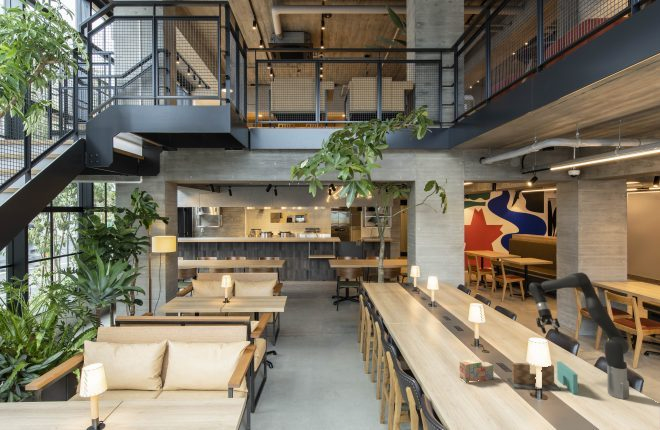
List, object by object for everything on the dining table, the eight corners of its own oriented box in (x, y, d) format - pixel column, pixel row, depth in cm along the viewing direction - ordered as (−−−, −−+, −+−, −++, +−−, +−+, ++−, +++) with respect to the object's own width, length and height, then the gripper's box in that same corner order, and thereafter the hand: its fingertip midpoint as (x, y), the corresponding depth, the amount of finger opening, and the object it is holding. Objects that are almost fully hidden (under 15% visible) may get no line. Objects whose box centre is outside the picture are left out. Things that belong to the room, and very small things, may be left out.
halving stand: (551, 382, 235) (551, 361, 235) (560, 390, 223) (560, 369, 223) (507, 380, 239) (507, 359, 239) (514, 388, 227) (513, 367, 227)
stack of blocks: (487, 375, 246) (486, 357, 246) (493, 379, 240) (493, 360, 240) (459, 379, 241) (459, 360, 241) (465, 383, 235) (465, 364, 235)
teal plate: (557, 379, 238) (557, 361, 238) (561, 379, 238) (560, 361, 238) (573, 394, 218) (573, 374, 218) (577, 394, 218) (577, 374, 218)
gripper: (536, 307, 250) (543, 331, 241) (556, 308, 251) (564, 332, 242) (531, 311, 257) (537, 334, 248) (550, 312, 257) (558, 335, 248)
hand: (551, 333), depth 245 cm, fingers open, 8 cm apart
